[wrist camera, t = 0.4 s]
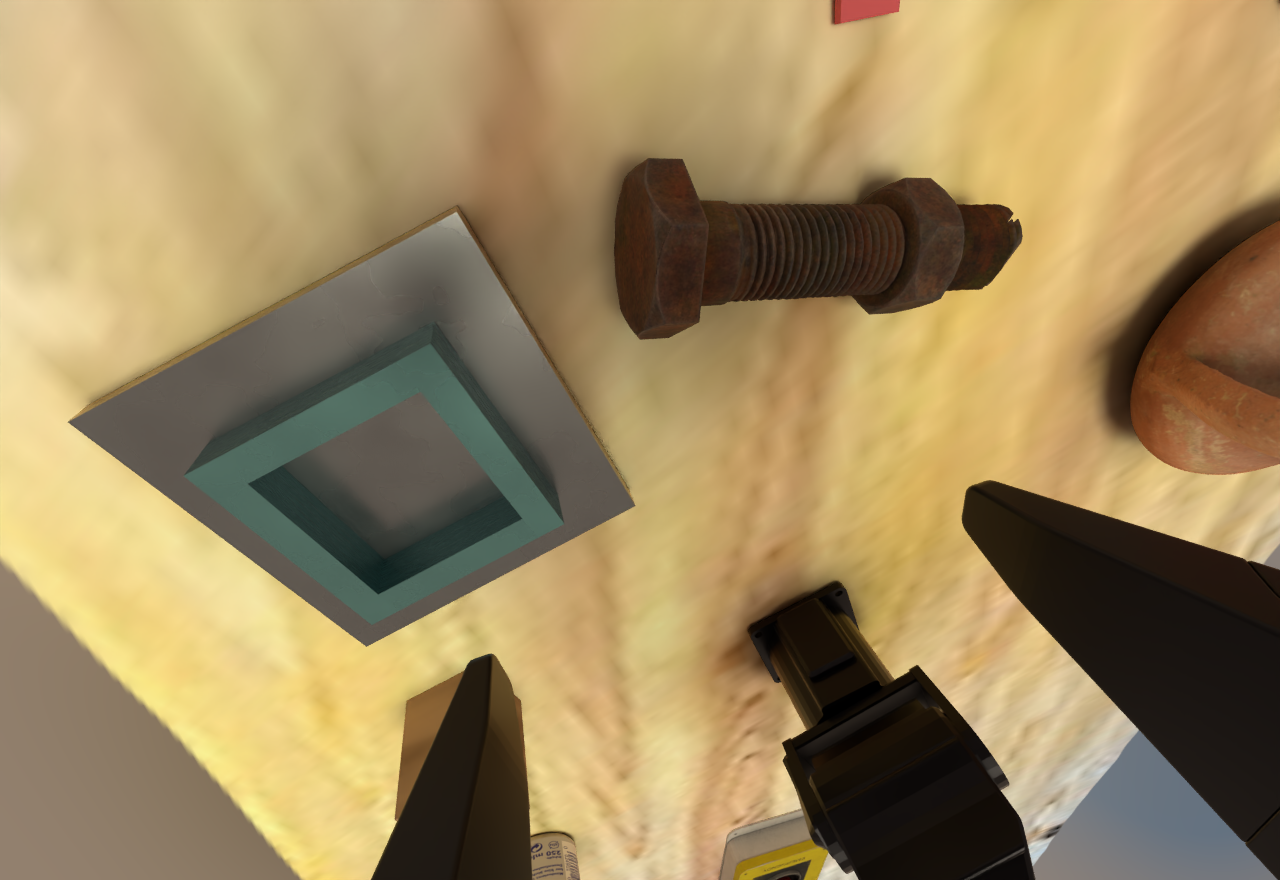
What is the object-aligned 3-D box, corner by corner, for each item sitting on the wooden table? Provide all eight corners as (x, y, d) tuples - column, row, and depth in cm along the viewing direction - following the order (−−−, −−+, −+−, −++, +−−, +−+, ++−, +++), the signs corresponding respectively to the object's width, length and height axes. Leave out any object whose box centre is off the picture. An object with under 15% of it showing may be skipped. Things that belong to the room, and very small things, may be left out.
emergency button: (845, 849, 48) (815, 918, 56) (819, 796, 51) (794, 868, 59) (745, 881, 46) (729, 948, 54) (725, 824, 49) (712, 894, 57)
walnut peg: (520, 700, 32) (529, 808, 27) (454, 734, 32) (451, 849, 28) (478, 663, 30) (480, 775, 25) (406, 700, 30) (394, 820, 25)
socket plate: (629, 490, 26) (647, 534, 24) (370, 626, 27) (359, 684, 24) (457, 205, 18) (455, 224, 16) (89, 404, 19) (26, 456, 16)
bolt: (920, 245, 26) (604, 252, 22) (1000, 143, 21) (625, 127, 17) (983, 344, 23) (637, 373, 19) (1089, 250, 19) (671, 262, 15)
